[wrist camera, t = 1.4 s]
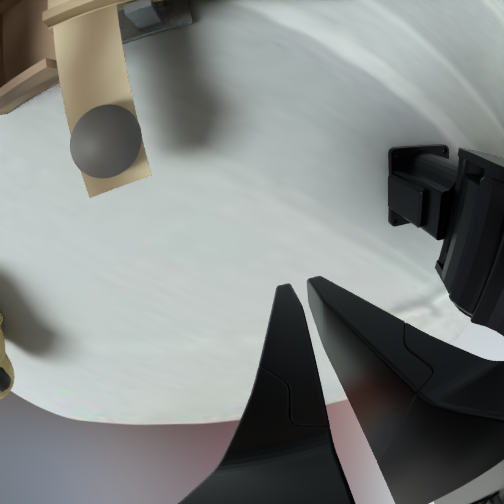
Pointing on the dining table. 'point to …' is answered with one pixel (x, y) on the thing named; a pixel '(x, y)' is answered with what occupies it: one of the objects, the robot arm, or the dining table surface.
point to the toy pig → (5, 367)
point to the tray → (25, 53)
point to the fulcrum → (152, 17)
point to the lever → (97, 92)
